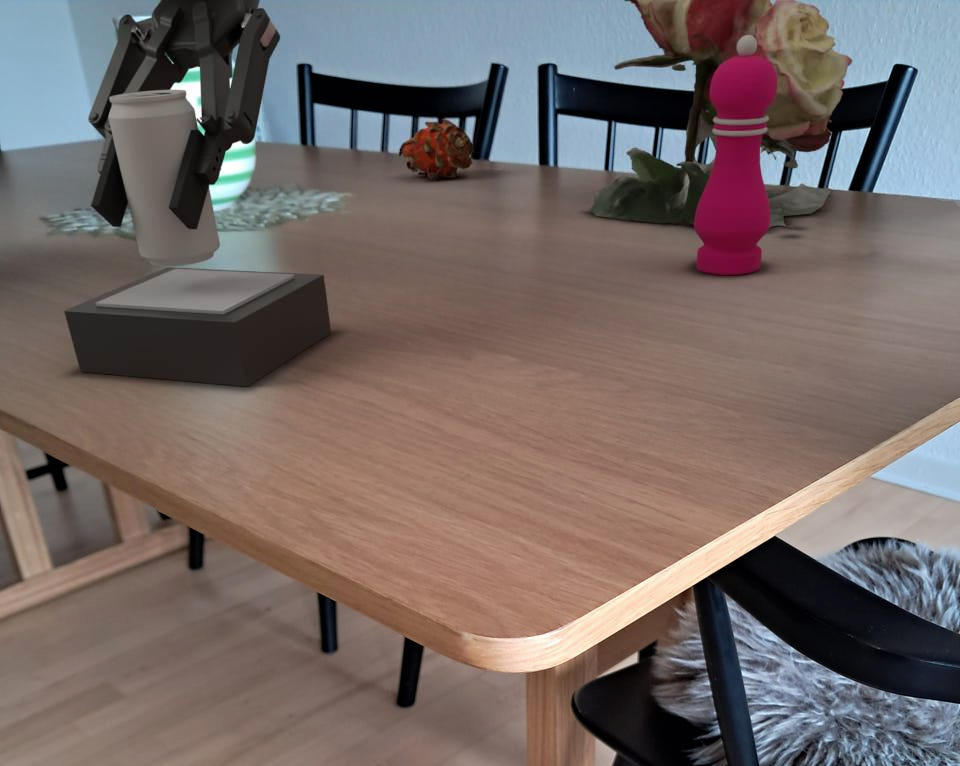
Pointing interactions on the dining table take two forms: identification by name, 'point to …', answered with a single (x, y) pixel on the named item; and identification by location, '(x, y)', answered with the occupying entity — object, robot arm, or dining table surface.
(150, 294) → the cup warmer
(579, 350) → the dining table surface
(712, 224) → the pepper mill
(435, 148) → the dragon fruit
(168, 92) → the beverage can
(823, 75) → the rose bouquet
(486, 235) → the dining table surface
